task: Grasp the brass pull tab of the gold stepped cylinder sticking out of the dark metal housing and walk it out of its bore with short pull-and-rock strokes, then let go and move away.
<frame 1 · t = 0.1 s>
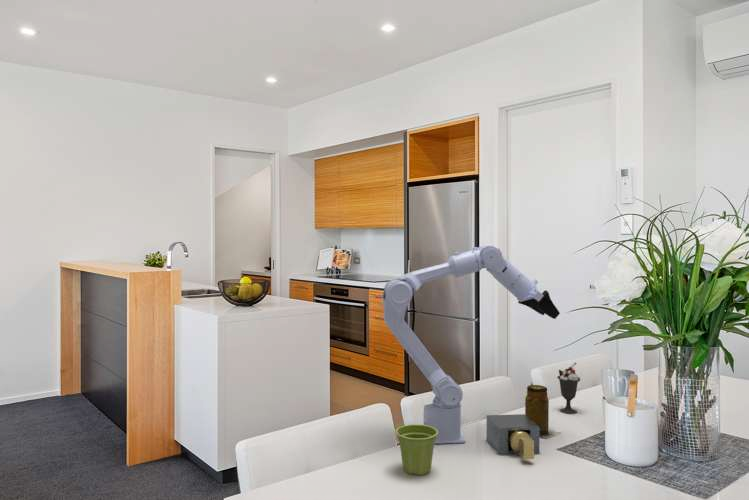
hand: (551, 314, 143), 32 cm above the table, tool tilted 50°, fingers open, 7 cm apart
sundae: (568, 412, 165), on the table
housing: (512, 446, 135), on the table
plant pot: (416, 470, 121), on the table
gold stepped cylinder: (518, 439, 131), point 3 cm above the table, slide at 0.0 cm
condiment: (539, 432, 146), on the table
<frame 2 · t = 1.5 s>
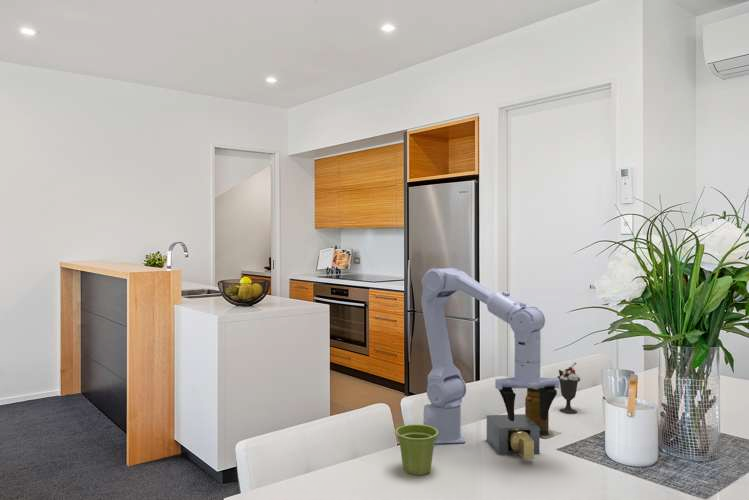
hand: (527, 419, 125), 10 cm above the table, tool pointing down, fingers open, 7 cm apart
nothing on the table moved.
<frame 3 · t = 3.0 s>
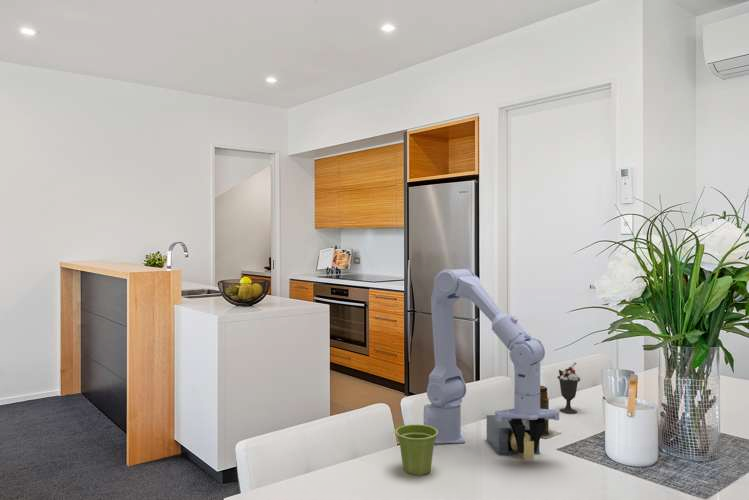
hand: (526, 451, 125), 3 cm above the table, tool pointing down, fingers closed on gold stepped cylinder, 2 cm apart
gold stepped cylinder: (518, 439, 131), point 3 cm above the table, slide at 0.0 cm, touching gripper
everything else where it was.
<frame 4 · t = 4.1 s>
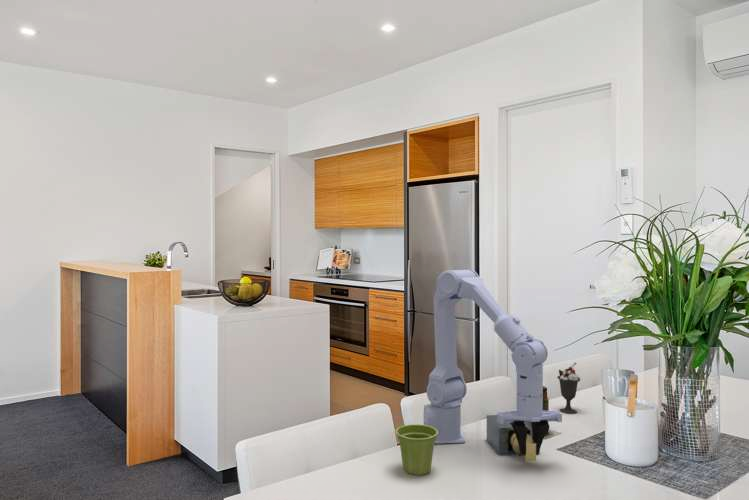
hand: (529, 453, 124), 3 cm above the table, tool pointing down, fingers closed on gold stepped cylinder, 2 cm apart
gold stepped cylinder: (520, 441, 129), point 3 cm above the table, slide at 1.3 cm, touching gripper
everything else where it was.
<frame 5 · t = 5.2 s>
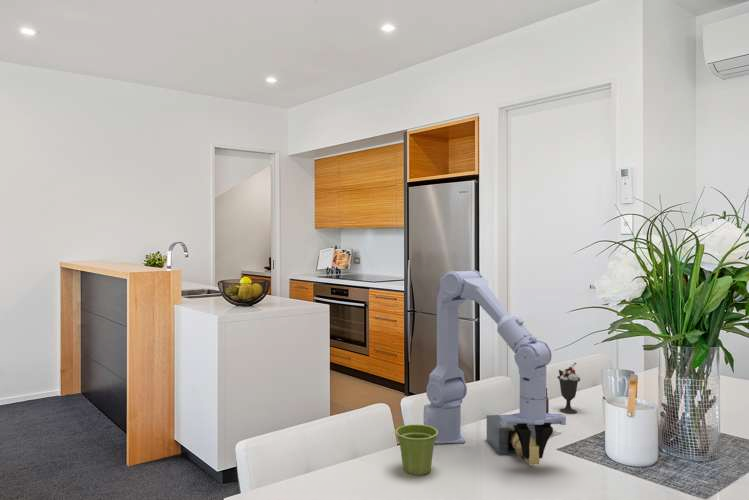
hand: (532, 456, 122), 3 cm above the table, tool pointing down, fingers closed on gold stepped cylinder, 2 cm apart
gold stepped cylinder: (523, 444, 128), point 3 cm above the table, slide at 3.1 cm, touching gripper
everything else where it was.
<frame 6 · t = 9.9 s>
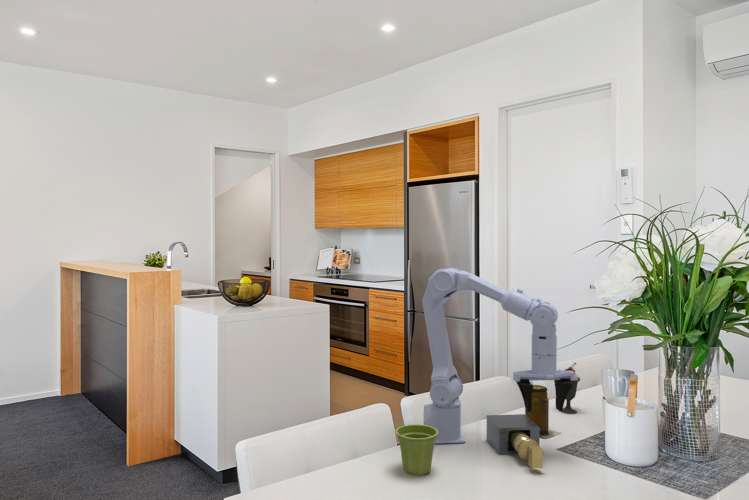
hand: (543, 410, 131), 10 cm above the table, tool pointing down, fingers open, 7 cm apart
gold stepped cylinder: (526, 447, 126), point 3 cm above the table, slide at 5.1 cm
everything else where it was.
at the end: gold stepped cylinder slide at 5.1 cm; the gripper is holding nothing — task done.
